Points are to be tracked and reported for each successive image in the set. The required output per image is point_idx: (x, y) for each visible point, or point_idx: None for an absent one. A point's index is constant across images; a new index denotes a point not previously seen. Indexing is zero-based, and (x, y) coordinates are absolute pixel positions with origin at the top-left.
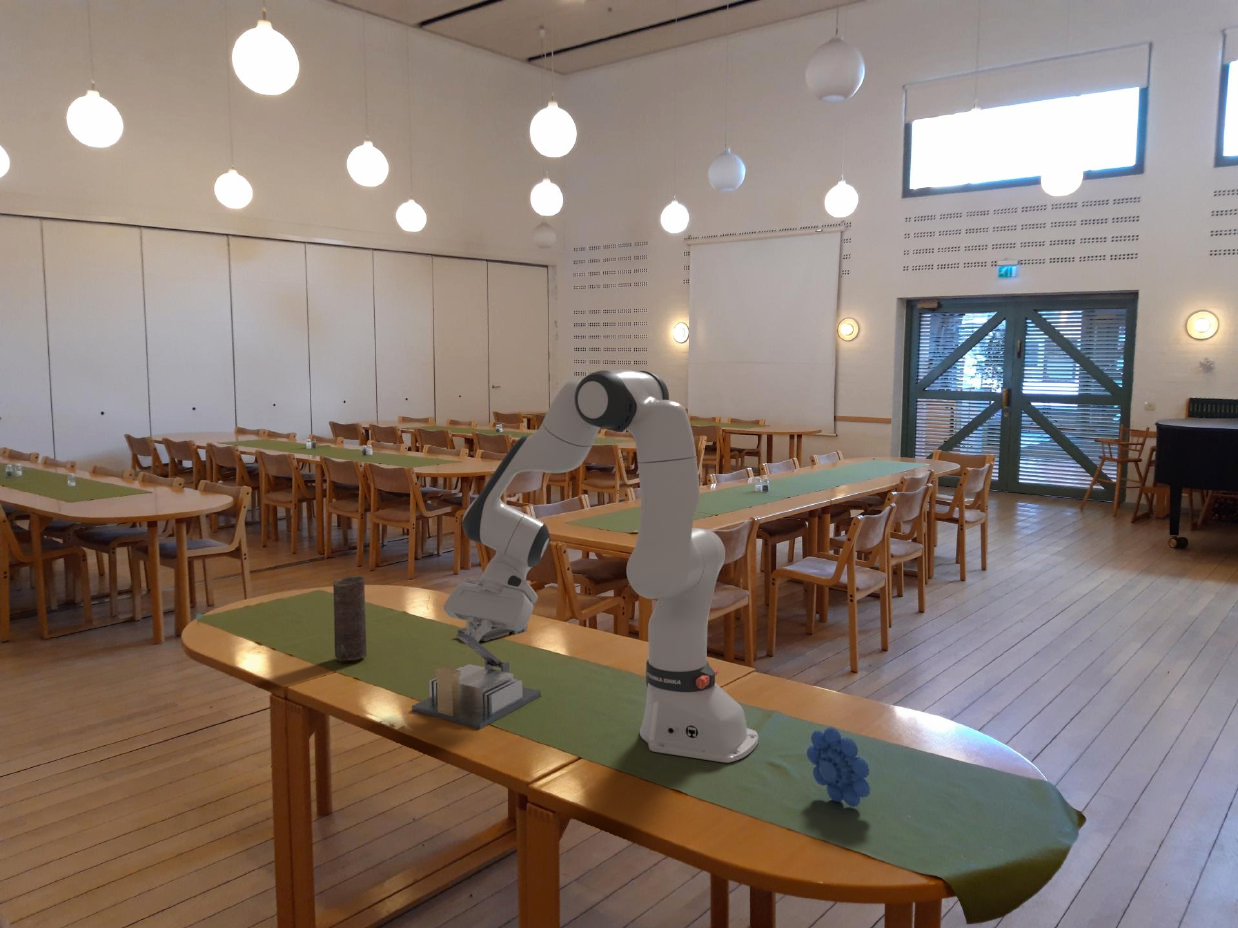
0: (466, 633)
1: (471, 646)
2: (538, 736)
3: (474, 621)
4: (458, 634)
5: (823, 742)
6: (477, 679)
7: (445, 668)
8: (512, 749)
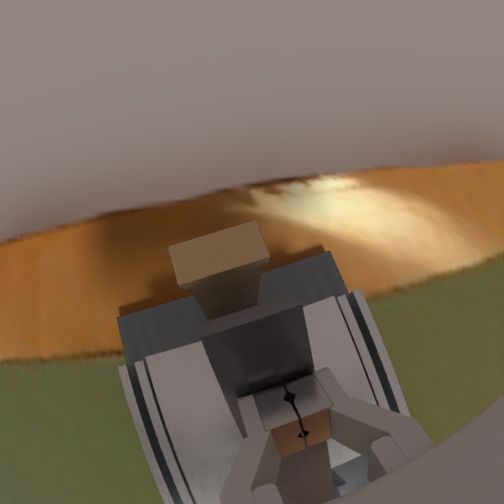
0: (321, 382)
1: None
2: (21, 380)
3: (375, 471)
4: (290, 302)
5: None
6: None
7: (243, 255)
8: (17, 307)
